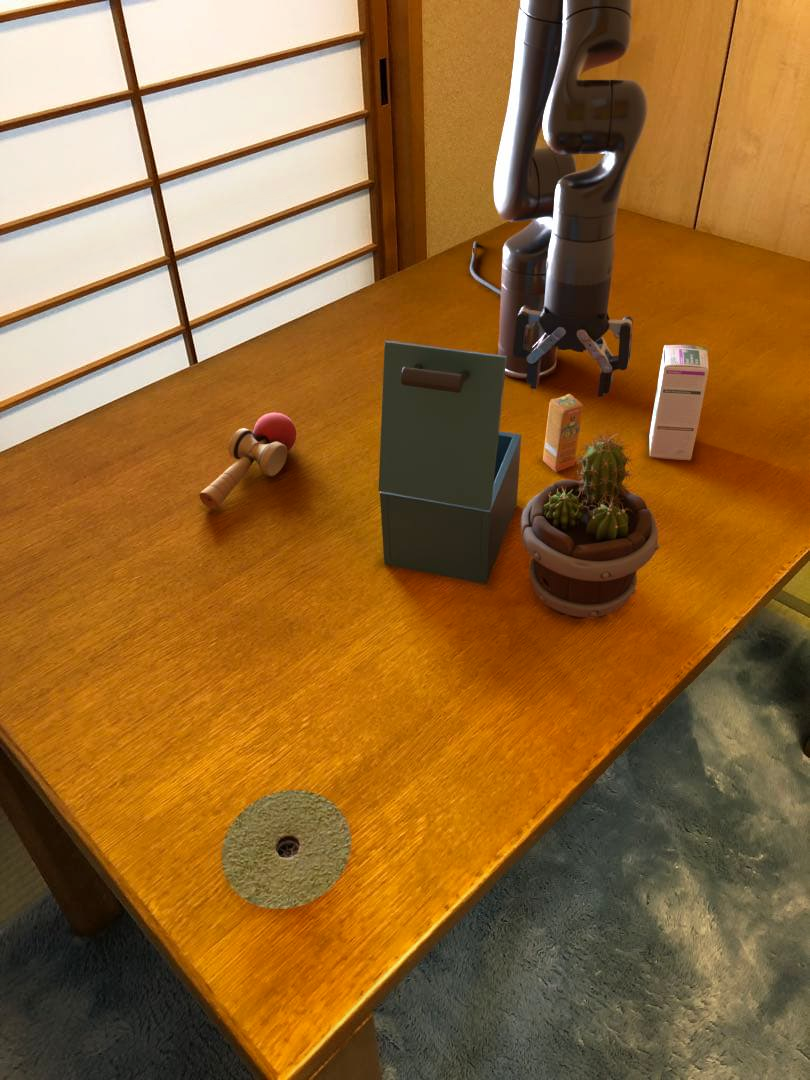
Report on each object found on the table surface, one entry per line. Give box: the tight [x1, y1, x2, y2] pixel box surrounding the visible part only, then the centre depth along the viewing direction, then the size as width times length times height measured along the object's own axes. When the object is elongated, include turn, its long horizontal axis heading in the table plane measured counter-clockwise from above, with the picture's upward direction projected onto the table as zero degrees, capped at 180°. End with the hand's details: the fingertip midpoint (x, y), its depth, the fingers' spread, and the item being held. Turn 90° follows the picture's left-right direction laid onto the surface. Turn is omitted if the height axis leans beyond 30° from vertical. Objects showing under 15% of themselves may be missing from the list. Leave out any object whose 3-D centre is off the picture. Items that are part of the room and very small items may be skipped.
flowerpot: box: [520, 429, 660, 620], centre depth 95 cm, size 14×15×20 cm
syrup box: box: [649, 344, 710, 461], centre depth 118 cm, size 6×6×14 cm
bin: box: [379, 430, 522, 586], centre depth 106 cm, size 16×13×11 cm
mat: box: [220, 789, 352, 910], centre depth 77 cm, size 11×11×2 cm
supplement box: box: [542, 393, 584, 473], centre depth 117 cm, size 3×3×10 cm
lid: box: [378, 340, 507, 510], centre depth 91 cm, size 17×13×5 cm
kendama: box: [199, 412, 297, 511], centre depth 119 cm, size 8×6×18 cm
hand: (567, 390), depth 113 cm, fingers open, 8 cm apart
